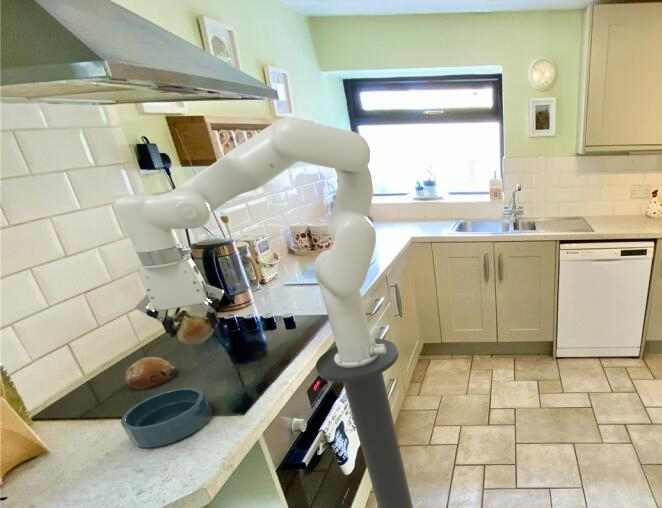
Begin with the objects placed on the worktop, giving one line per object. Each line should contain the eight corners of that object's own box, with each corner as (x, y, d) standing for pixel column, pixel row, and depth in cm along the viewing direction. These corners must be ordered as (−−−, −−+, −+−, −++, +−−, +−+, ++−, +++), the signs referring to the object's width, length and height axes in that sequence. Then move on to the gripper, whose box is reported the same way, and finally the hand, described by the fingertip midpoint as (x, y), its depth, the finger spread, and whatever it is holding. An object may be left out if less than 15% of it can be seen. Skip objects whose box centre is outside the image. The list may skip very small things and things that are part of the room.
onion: (179, 354, 93) (163, 321, 89) (182, 340, 99) (168, 309, 96) (218, 344, 96) (205, 313, 93) (219, 332, 103) (207, 302, 99)
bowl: (227, 406, 99) (218, 387, 97) (179, 450, 86) (167, 429, 84) (170, 406, 100) (160, 387, 98) (115, 449, 88) (101, 428, 85)
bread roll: (165, 380, 119) (143, 358, 116) (188, 367, 115) (166, 344, 112) (133, 401, 110) (108, 377, 107) (157, 388, 107) (132, 363, 104)
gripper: (212, 245, 94) (240, 316, 103) (117, 258, 88) (154, 332, 96) (207, 253, 88) (236, 328, 97) (104, 268, 82) (145, 346, 90)
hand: (195, 330), depth 96 cm, fingers closed on onion, 7 cm apart
